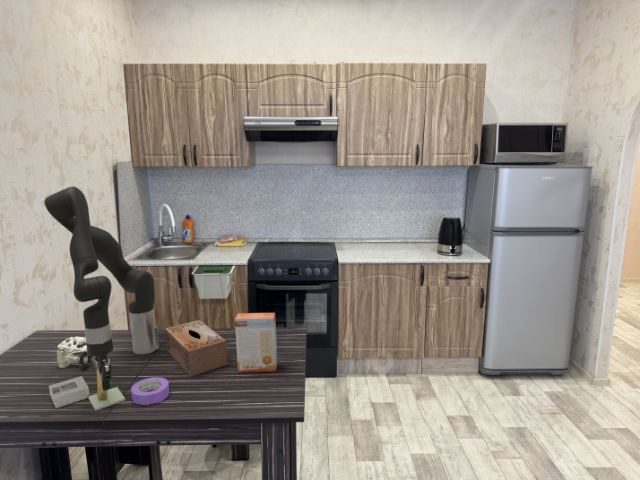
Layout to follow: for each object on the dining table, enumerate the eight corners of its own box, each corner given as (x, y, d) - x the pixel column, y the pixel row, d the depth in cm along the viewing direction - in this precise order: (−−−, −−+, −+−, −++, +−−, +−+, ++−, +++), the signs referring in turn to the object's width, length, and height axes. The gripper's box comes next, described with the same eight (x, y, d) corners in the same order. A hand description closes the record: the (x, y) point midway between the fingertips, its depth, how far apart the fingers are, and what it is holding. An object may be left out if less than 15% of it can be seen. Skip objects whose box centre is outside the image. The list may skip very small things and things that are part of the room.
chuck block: (83, 385, 157) (81, 374, 156) (89, 397, 150) (88, 386, 149) (50, 395, 151) (48, 384, 150) (55, 408, 144) (53, 396, 143)
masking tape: (134, 390, 154) (132, 379, 154) (169, 384, 157) (169, 374, 157) (130, 408, 143) (128, 398, 143) (168, 402, 146) (167, 392, 146)
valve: (53, 369, 169) (82, 372, 167) (50, 353, 167) (80, 355, 165) (65, 361, 175) (93, 363, 173) (63, 345, 174) (91, 347, 172)
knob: (95, 396, 148) (94, 360, 146) (108, 393, 150) (107, 358, 148) (96, 402, 145) (95, 365, 143) (109, 399, 147) (109, 363, 145)
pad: (117, 389, 155) (117, 386, 154) (125, 400, 148) (124, 398, 148) (88, 398, 149) (88, 396, 149) (95, 410, 142) (95, 408, 142)
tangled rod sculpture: (47, 353, 185) (44, 344, 184) (79, 337, 197) (77, 328, 196) (77, 362, 176) (74, 352, 175) (109, 344, 188) (106, 335, 187)
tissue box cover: (227, 365, 171) (226, 340, 169) (190, 377, 162) (188, 351, 160) (201, 342, 191) (199, 319, 189) (167, 351, 183) (164, 328, 180)
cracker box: (277, 364, 170) (275, 311, 166) (275, 372, 164) (273, 318, 160) (240, 364, 171) (237, 312, 166) (237, 372, 165) (234, 318, 160)
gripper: (80, 334, 147) (87, 382, 151) (91, 349, 136) (98, 400, 140) (105, 328, 151) (111, 375, 155) (117, 342, 141) (123, 392, 144)
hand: (105, 386), depth 147 cm, fingers open, 3 cm apart
